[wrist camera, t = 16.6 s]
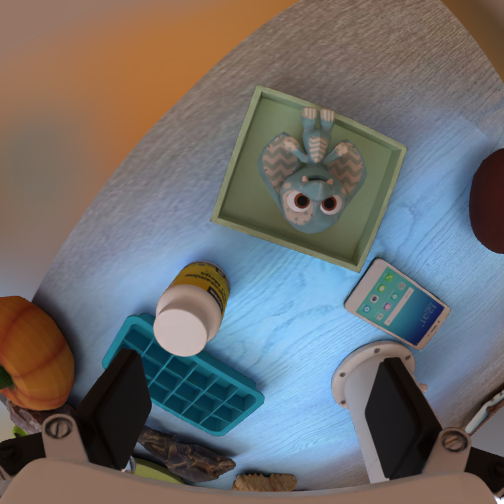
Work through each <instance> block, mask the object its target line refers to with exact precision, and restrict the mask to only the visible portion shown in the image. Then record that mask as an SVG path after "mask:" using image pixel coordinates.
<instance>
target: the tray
mask: <svg viewBox="0 0 504 504" xmlns="http://www.w3.org/2000/svg"><path fill="white" fill-rule="evenodd" d="M309 106H311V107H314V108H315V109H317V110H318V112H317V120H316V124H315V128H317V129H319V128H321V126H320V118H319V113H320V110H322V109H326V108H323V107H321V106H318V105H316V104H313V103H310V102H308V101H305V100H302V99H300V98H297V97H294V96H291V95H288V94H285V93H283V92H280V91H277V90H274V89H270V88H267V87H263V86H261V85H257V88H256V90H255V93H254V95H253V98H252V101H251V103H250V106H249V109H248V111H247V114H246V117H245V120H244V122H243V125H242V128H241V131H240V133H239V136H238V139H237V142H236V145H235V148H234V150H233V153H232V156H231V159H230V162H229V165H228V168H227V171H226V174H225V177H224V180H223V183H222V186H221V189H220V192H219V195H218V198H217V201H216V204H215V207H214V210H213V214H212V217H211V220H210V221H211V222H214V223H217V224H220V225H223V226H226V227H229V228H232V229H235V230H237V231H240V232H243V233H246V234H249V235H252V236H255V237H258V238H261V239H264V240H267V241H270V242H272V243H275V244H278V245H281V246H284V247H287V248H290V249H293V250H295V251H298V252H301V253H304V254H307V255H310V256H313V257H315V258H318V259H321V260H324V261H327V262H330V263H332V264H335V265H338V266H341V267H344V268H346V269H349V270H352V271H355V272H358V273H360V271H361V269H362V267H363V265H364V262H365V260H366V258H367V255H368V253H369V251H370V248H371V246H372V244H373V241H374V239H375V236H376V234H377V231H378V229H379V226H380V224H381V221H382V219H383V216H384V214H385V211H386V208H387V206H388V203H389V200H390V198H391V195H392V192H393V189H394V187H395V184H396V181H397V178H398V175H399V172H400V169H401V166H402V163H403V160H404V157H405V154H406V151H407V147H406V146H404V145H402V144H400V143H399V142H397V141H395V140H393V139H391V138H389V137H387V136H385V135H383V134H381V133H379V132H377V131H375V130H373V129H371V128H369V127H367V126H365V125H362V124H360V123H358V122H356V121H354V120H351V119H349V118H347V117H345V116H342V115H340V114H338V113H335V112H334V113H335V117H334V125H333V128H332V130H331V137H332V138H331V141H330V144H329V147H328V150H327V152H326V156H327V154H328V153H329V152H330V151H331V150H332V149H333V148H334V147H335V146H336V145H337V144H338V143H339V142H340V141H342V140H343V139H348V140H349V141H351V142H352V143H353V144H355V146H356V147H357V149H358V150H359V152H360V153H361V155H362V156H363V158H364V161H365V165H366V170H367V177H366V179H365V182H364V184H363V186H362V187H361V189H360V190H359V191H358V192H357V194H356V195H355V196H354V197H353V199H352V200H351V201H350V203H349V204H348V205H347V206H346V208H345V209H344V210H343V212H342V213H341V215H340V218H339V220H338V222H337V223H336V224H334V225H333V226H331V227H330V228H328V229H327V230H325V231H323V232H318V233H312V234H308V233H304V232H302V231H299V230H297V229H295V228H294V227H293V226H292V225H291V224H290V223H289V222H288V221H287V220H286V219H285V218H284V217H283V216H282V215H281V213H280V211H279V209H278V206H277V204H276V202H275V200H274V199H273V197H272V195H271V194H270V192H269V190H268V189H267V187H266V185H265V183H264V182H263V180H262V178H261V177H260V175H259V171H258V167H257V161H258V159H259V156H260V154H261V152H262V150H263V148H264V147H265V146H266V145H267V144H268V143H269V142H270V141H271V140H272V139H273V138H274V137H275V136H276V135H278V134H280V133H282V132H286V133H287V134H288V135H289V136H292V137H293V138H294V139H295V140H296V141H297V142H298V143H299V145H300V146H301V148H302V150H303V152H304V153H306V152H305V150H304V146H303V136H302V134H303V132H304V126H303V123H302V109H303V108H305V107H309ZM300 164H301V166H300V168H299V170H301V169H303V168H304V167H306V166H307V163H306V162H302V161H301V160H300ZM322 167H324V164H323V165H322ZM299 170H298V171H299ZM298 171H297V172H298Z"/></svg>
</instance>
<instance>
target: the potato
mask: <svg viewBox="0 0 504 504" xmlns="http://www.w3.org/2000/svg"><path fill="white" fill-rule="evenodd" d="M469 213H470V221H471V227H472V229H473V232H474V234H475V236H476V238H477V239H478V240H479V241H480V242H481V243H482V244H483V245H484V246H485V247H486V248H487V249H489V250H491V251H492V252H495V253H498V254H504V148H502V149H499V150H497V151H495V152H493V153H492V154H491V155H490V156H488V157H487V158H486V159H484V160H483V161H482V163H481V165H480V167H479V168H478V170H477V172H476V173H475V175H474V178H473V182H472V187H471V191H470V200H469Z"/></svg>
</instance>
